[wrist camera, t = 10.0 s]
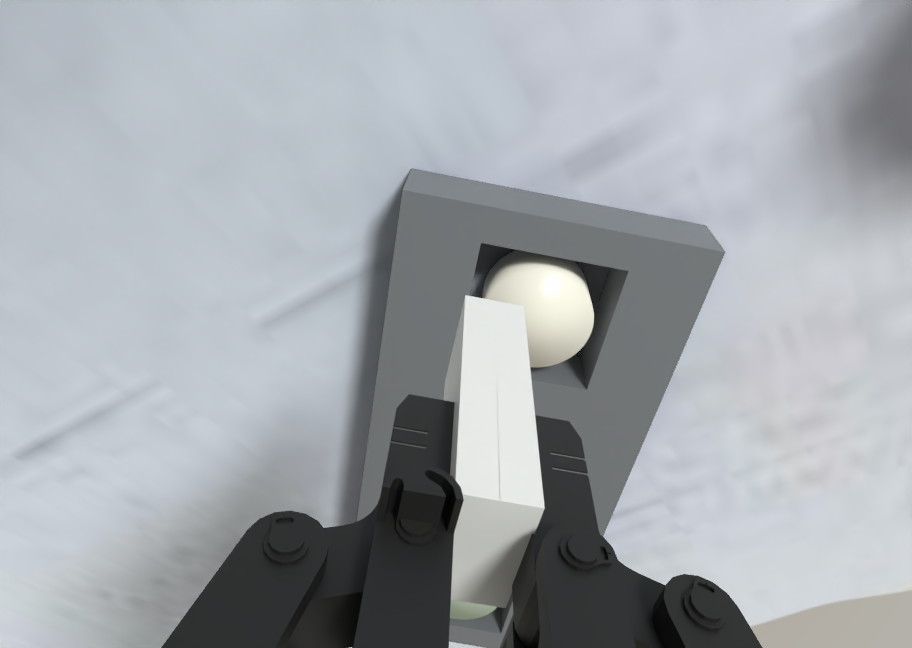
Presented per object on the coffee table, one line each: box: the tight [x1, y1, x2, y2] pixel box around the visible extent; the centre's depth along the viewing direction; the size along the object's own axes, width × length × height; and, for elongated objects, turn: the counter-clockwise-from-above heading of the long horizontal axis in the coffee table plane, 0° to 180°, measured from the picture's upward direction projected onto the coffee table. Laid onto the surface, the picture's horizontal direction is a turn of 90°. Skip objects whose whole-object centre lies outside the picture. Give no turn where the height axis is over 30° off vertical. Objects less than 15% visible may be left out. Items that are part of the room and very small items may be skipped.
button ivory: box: [482, 250, 594, 367], centre depth 31 cm, size 5×5×3 cm
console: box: [356, 169, 725, 648], centre depth 36 cm, size 14×30×3 cm, turn 170°
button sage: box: [450, 600, 497, 620], centre depth 41 cm, size 5×5×3 cm
